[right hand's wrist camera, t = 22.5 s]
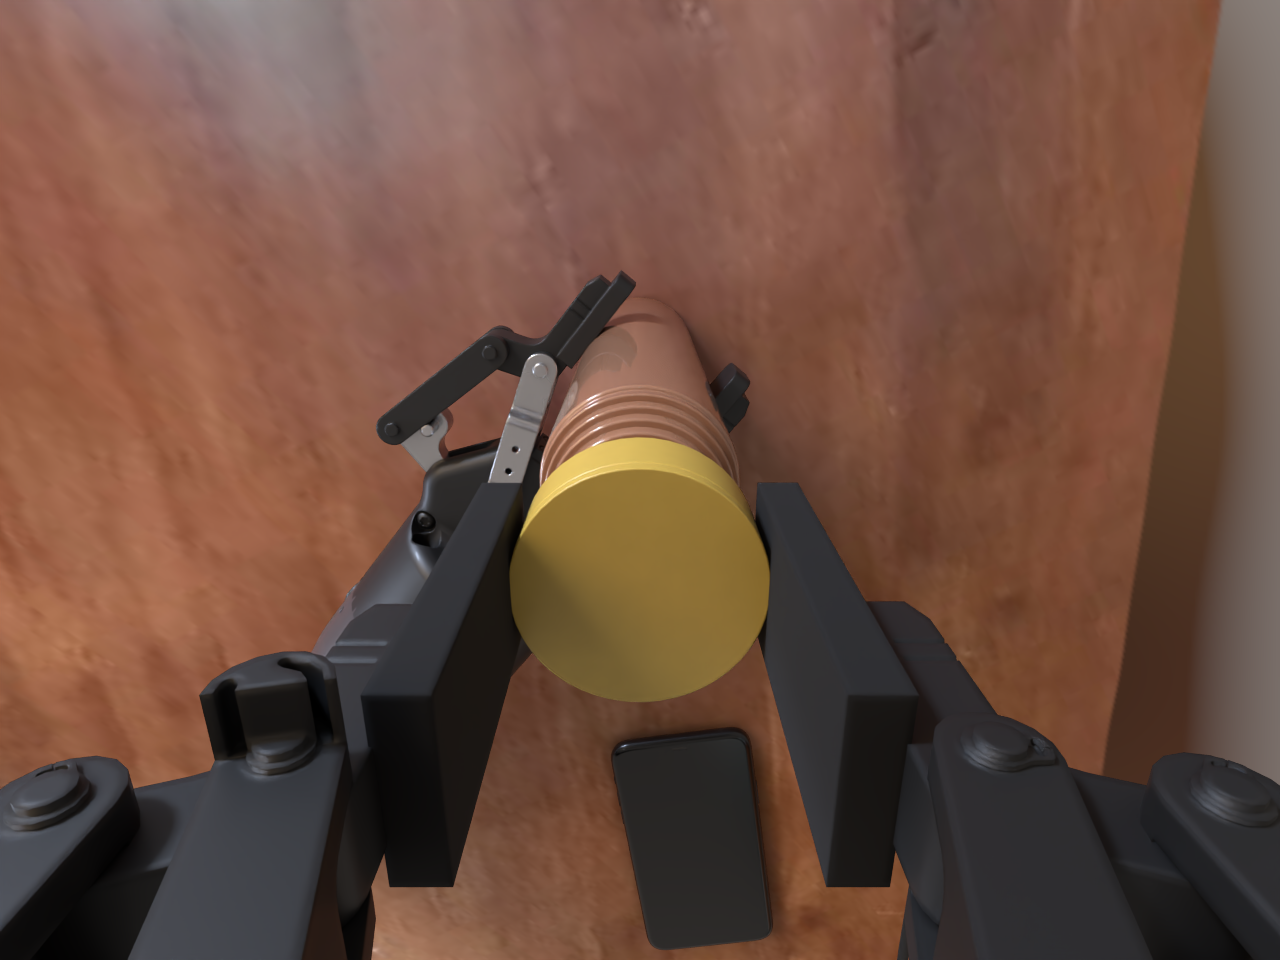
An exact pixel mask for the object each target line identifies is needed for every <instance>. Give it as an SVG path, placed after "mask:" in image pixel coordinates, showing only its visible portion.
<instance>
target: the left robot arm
mask: <svg viewBox="0 0 1280 960" xmlns="http://www.w3.org/2000/svg"><path fill="white" fill-rule="evenodd" d="M635 286H636V282H635V281H634V280H633V279H631V278H630V277H629V276H628V275H627V274H625V273H624V272H623V271H622V270H621V271H620V272H619V274H618V275H617V276H616V277H615V279H614V280H613V281H612V283H611V282H610V281H608V280H607V279H606V278H605V277H604V276H602V275H599V276H597V277H595V278H594V279H592V280H590V281H589V282H588V283H587V284H586V285H585V287H584V288H583V289H582V291H581V292H580V293H579V295H578V296H577V297H576V298H575V300H574V301H573V302H572V304H571V305H570V306H569V308H568V309H567V310H566V312H565V313H564V314H563V316H562V317H561V318H560V320H559V321H558V322H557V323H556V325H555V326H554V327H553V329H552V330H551V331H550V332H549V333H548V334H547V335H546V336H544V337H542V338H538V339H533V338H528V337H525V336H522V335H519V334H516V333H514V332H513V331H512V330H511V329H510V328H508V327H506V326H496V327H494V328H492V329H491V330H490V331H488V332H487V333H486V334H485V335H483V336H482V337H481V338H480V339H478V340H477V341H476V342H475V343H473V344H472V345H471V346H469V347H468V348H467V349H466V350H464V351H463V352H462V353H461V354H459V355H458V356H457V357H456V358H454V359H453V360H452V361H451V362H449V363H448V364H447V365H446V366H444V367H443V368H442V369H441V370H439V371H438V372H437V373H436V374H434V375H433V376H432V377H430V378H429V379H428V380H427V381H425V382H424V383H423V384H422V385H420V386H419V387H418V388H417V389H415V390H414V391H413V392H412V393H410V394H409V395H408V396H407V397H405V398H404V399H403V400H402V401H400V402H399V403H398V404H397V405H395V406H394V407H393V408H392V409H390V410H389V411H388V412H387V413H385V414H384V415H383V416H382V417H381V418H380V419H379V420H378V422H377V425H376V430H377V434H378V436H379V437H380V438H381V439H382V440H383V441H384V442H386V443H388V444H391V445H398V444H401V445H402V446H403V447H404V448H405V449H406V450H407V451H408V452H409V454H410V455H411V456H412V457H413V458H414V459H415V460H416V461H417V462H418V464H419V465H420V466H421V467H422V468H423V469H424V470H425V471H426V475H425V477H424V481H423V493H422V497H421V500H420V502H419V504H418V505H417V506H416V508H415V509H414V510H413V512H412V513H411V514H410V516H409V517H408V518H407V520H406V521H405V522H404V523H403V525H402V526H401V527H400V529H399V530H398V531H397V533H396V534H395V535H394V537H393V538H392V539H391V541H390V542H389V543H388V545H387V546H386V547H385V548H384V550H383V551H382V552H381V554H380V555H379V556H378V558H377V559H376V560H375V562H374V563H373V564H372V566H371V567H370V568H369V569H368V571H367V572H366V573H365V575H364V577H363V578H362V579H361V580H360V581H359V582H358V583H357V584H356V585H355V586H354V587H353V588H352V589H351V590H350V591H349V592H348V594H347V595H346V598H345V601H344V602H343V604H342V605H341V606H340V608H339V609H338V610H337V612H336V613H335V614H334V615H333V617H332V618H331V620H330V621H329V623H328V624H327V626H326V627H325V628H324V630H323V631H322V633H321V635H320V637H319V639H318V640H317V642H316V644H315V646H314V648H313V650H312V652H311V653H314V654H318V655H322V656H324V657H325V656H326V655H327V654H328V652H329V651H330V649H331V648H332V646H335V645H336V641H337V639H338V638H339V636H340V635H341V634H342V632H343V631H344V629H345V628H346V626H347V625H348V624H349V622H350V621H351V620H353V619H354V618H356V617H357V616H359V615H360V614H362V613H363V612H365V611H366V610H367V609H369V608H370V607H372V606H373V605H375V604H413V602H414V601H415V599H416V597H417V595H418V594H419V592H420V590H421V588H422V587H423V585H424V583H425V581H426V580H427V578H428V576H429V574H430V573H431V571H432V569H433V567H434V566H435V564H436V562H437V560H438V559H439V557H440V555H441V554H442V552H443V550H444V548H445V547H446V545H447V543H448V541H449V540H450V538H451V536H452V534H453V533H454V531H455V529H456V527H457V526H458V524H459V522H460V520H461V519H462V517H463V515H464V513H465V512H466V510H467V508H468V506H469V505H470V503H471V501H472V499H473V498H474V496H475V494H476V492H477V491H478V489H479V487H480V485H481V484H482V483H522V492H523V510H524V521H525V518H526V515H527V513H528V510H529V508H530V505H531V503H532V501H533V499H534V497H535V495H536V494H537V492H538V490H539V489H540V477H539V475H540V466H541V460H542V456H543V452H544V449H545V447H546V444H547V442H548V439H549V437H548V436H546V435H545V434H544V433H542V435H541V431H542V428H543V425H544V422H545V419H546V416H547V413H548V409H549V406H550V402H551V399H552V396H553V392H554V389H555V386H556V383H557V380H558V377H559V375H560V374H561V372H562V371H563V370H564V369H565V367H566V366H568V367H570V368H571V369H572V367H573V366H574V365H575V364H576V362H577V361H578V360H579V359H580V357H581V356H582V355H583V353H584V351H585V350H586V349H587V348H588V346H589V345H590V344H591V343H592V342H593V341H594V339H595V338H596V337H597V336H598V334H599V333H600V332H601V330H602V329H603V328H604V327H605V325H606V324H607V323H608V322H609V320H610V319H611V318H612V316H613V315H614V314H615V313H616V311H617V310H618V309H619V307H620V306H621V305H622V304H623V302H624V301H625V300H626V299H627V297H628V296H629V295H630V293H631V292H632V291H633V289H634V288H635ZM497 369H498V370H501V371H504V372H507V373H510V374H513V375H516V376H519V377H521V378H520V382H519V385H518V388H517V392H516V395H515V398H514V401H513V405H512V408H511V410H510V413H509V415H508V418H507V421H506V424H505V427H504V431H503V434H502V437H501V438H498V439H494V440H490V441H486V442H482V443H479V444H475V445H471V446H467V447H463V448H460V449H456V450H452V451H448V450H447V448H446V446H445V442H444V440H445V435H446V433H447V432H448V431H449V430H450V429H451V427H452V425H453V416H452V413H451V412H450V410H449V409H448V407H449V406H450V405H452V404H453V403H454V402H456V401H457V400H458V399H459V398H461V397H462V396H463V395H465V394H466V393H467V392H468V391H470V390H471V389H472V388H473V387H475V386H476V385H477V384H479V383H480V382H481V381H482V380H484V379H485V378H486V377H488V376H489V375H490V374H491V373H493V372H494V371H495V370H497ZM749 384H750V380H749V379H748V377H747V376H746V374H745V373H744V372H742V371H741V370H740V369H739V368H738V367H736V366H735V365H734V364H733V363H730V364H729V365H727V366H726V367H725V368H724V369H723V371H722V372H721V373H720V374H719V375H718V376H717V378H716V379H715V380H714V381H713V382H712V383H711V385H710V387H711V390H712V392H713V395H714V397H715V400H716V402H717V405H718V407H719V410H720V413H721V415H722V418H723V420H724V423H725V425H726V428H727V430H728V433H730V432H731V431H732V429H733V428H734V427H735V426H736V425H737V424H738V423H739V422H740V420H741V419H742V418H743V417H744V416H745V413H746V411H747V408H748V405H749V403H750V402H749V400H748V399H747V397H746V395H745V393H744V392H745V391H746V390H747V388H748V386H749ZM540 435H541V436H540ZM531 653H532V652H531V650H530V649H529V647H528V646H527V644H526V643H525V641H524V640H523V638H521V641H520V645H519V648H518V652H517V656H516V659H515V663H514V667H513V670H512V674H511V676H512V675H513V674H514V673H515V672H516V670H517V669H518V668H519V667H520V666H521V665H522V664H523V662H524V661H525V660H526V659H527V658H528V657H529V656H530V655H531Z"/></svg>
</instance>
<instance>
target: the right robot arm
mask: <svg viewBox="0 0 1280 960" xmlns="http://www.w3.org/2000/svg"><path fill="white" fill-rule="evenodd" d="M523 523H524V510H523V492H522V483H482V484H481V485H480V487H479V489H478V491H477V492H476V494H475V496H474V498H473V499H472V501H471V503H470V505H469V506H468V508H467V510H466V512H465V513H464V515H463V517H462V519H461V520H460V522H459V524H458V526H457V527H456V529H455V531H454V533H453V534H452V536H451V538H450V540H449V541H448V543H447V545H446V547H445V548H444V550H443V552H442V554H441V555H440V557H439V559H438V560H437V562H436V564H435V566H434V567H433V569H432V571H431V573H430V574H429V576H428V578H427V580H426V581H425V583H424V585H423V587H422V588H421V590H420V592H419V594H418V595H417V597H416V599H415V601H414V602H413V604H375V605H373V606H372V607H370V608H369V609H367V610H366V611H365V612H363V613H362V614H360V615H359V616H357V617H356V618H354V619H353V620H351V621H350V622H349V624H348V625H347V626H346V628H345V629H344V631H343V632H342V634H341V635H340V636H339V638H338V639H337V641H336V645H335V646H332V648H331V649H330V651H329V652H328V654H327V655H326V656H325V657H324V656H322V655H318V654H314V653H310V652H306V651H301V652H279V653H274V654H270V655H265V656H260V657H256V658H254V659H251V660H249V661H246V662H244V663H241V664H239V665H236V666H233V667H232V668H230V669H228V670H227V671H225V672H224V673H222V674H221V675H219V676H218V677H216V678H215V679H213V680H212V681H211V682H210V683H209V684H208V685H207V687H206V688H205V689H204V690H203V691H202V692H201V694H200V695H199V696H200V700H201V704H202V709H203V713H204V717H205V721H206V725H207V729H208V733H209V738H210V742H211V746H212V750H213V754H214V758H215V762H214V764H213V766H212V768H211V771H208V772H204V773H201V774H197V775H194V776H190V777H186V778H181V779H176V780H172V781H167V782H162V783H158V784H153V785H149V786H144V787H139V788H135V789H133V785H132V782H131V778H130V775H129V772H128V769H127V768H126V767H125V766H124V765H123V764H121V763H120V762H119V761H118V760H117V759H112V758H106V757H100V756H91V757H82V758H73V759H68V760H65V761H60V762H56V763H55V764H50V765H47V766H44V767H41V768H38V769H36V770H34V771H33V772H31V773H29V774H27V775H25V776H23V777H21V778H18V779H16V780H14V781H12V782H10V783H9V784H7V785H6V786H4V787H3V788H2V789H0V960H371V957H372V948H373V939H374V931H375V922H376V916H375V909H374V901H373V895H372V889H371V886H372V883H373V880H374V878H375V875H376V873H377V870H378V868H379V865H380V863H381V860H382V858H383V855H384V853H385V860H386V866H387V873H388V880H389V886H390V887H453V885H454V882H455V878H456V874H457V871H458V867H459V864H460V860H461V856H462V853H463V849H464V845H465V842H466V838H467V834H468V831H469V827H470V823H471V820H472V816H473V812H474V809H475V805H476V802H477V798H478V794H479V791H480V787H481V783H482V780H483V776H484V772H485V769H486V765H487V761H488V758H489V754H490V751H491V747H492V743H493V740H494V736H495V732H496V729H497V725H498V721H499V718H500V714H501V710H502V707H503V703H504V699H505V696H506V692H507V689H508V685H509V681H510V678H511V674H512V670H513V667H514V663H515V659H516V656H517V652H518V648H519V645H520V641H521V638H522V636H521V634H520V632H519V630H518V628H517V626H516V624H515V621H514V618H513V614H512V606H511V592H510V576H509V567H510V562H511V558H512V555H513V551H514V548H515V545H516V542H517V540H518V537H519V534H520V531H521V529H522V526H523ZM755 523H756V525H757V528H758V531H759V534H760V536H761V539H762V542H763V545H764V547H765V550H766V553H767V556H768V560H769V566H770V584H769V599H768V611H767V616H766V619H765V622H764V624H763V626H762V629H761V631H760V633H759V635H758V639H759V643H760V647H761V650H762V654H763V657H764V661H765V665H766V668H767V672H768V676H769V679H770V683H771V687H772V690H773V694H774V698H775V701H776V705H777V709H778V712H779V716H780V719H781V723H782V727H783V730H784V734H785V738H786V741H787V745H788V749H789V752H790V756H791V760H792V763H793V767H794V771H795V774H796V778H797V781H798V785H799V789H800V792H801V796H802V800H803V803H804V807H805V811H806V814H807V818H808V822H809V825H810V829H811V833H812V836H813V840H814V843H815V847H816V851H817V854H818V858H819V862H820V865H821V869H822V873H823V876H824V880H825V884H826V887H890V883H891V876H892V870H893V863H894V857H895V850H896V853H897V855H898V858H899V860H900V863H901V865H902V868H903V870H904V873H905V875H906V878H907V880H908V883H909V889H908V895H907V901H906V907H905V913H904V919H903V925H902V932H901V938H900V944H899V950H898V957H897V960H908V956H909V960H1280V785H1278V784H1277V783H1275V782H1274V781H1273V780H1271V779H1269V778H1267V777H1265V776H1263V775H1261V774H1259V773H1257V772H1255V771H1253V770H1251V769H1249V768H1247V767H1245V766H1243V765H1241V764H1238V763H1235V762H1232V761H1229V760H1228V761H1227V760H1225V759H1222V758H1218V757H1214V756H1211V755H1202V754H1193V753H1178V754H1172V755H1166V756H1163V757H1162V758H1161V759H1160V760H1158V761H1157V762H1156V763H1155V764H1154V765H1153V766H1152V769H1151V773H1150V776H1149V780H1148V783H1147V785H1142V784H1137V783H1133V782H1128V781H1123V780H1119V779H1114V778H1109V777H1105V776H1100V775H1096V774H1091V773H1087V772H1083V771H1080V770H1076V769H1073V768H1069V767H1068V765H1067V763H1066V760H1065V759H1064V757H1063V756H1062V755H1061V753H1060V752H1059V750H1058V749H1057V748H1056V746H1055V745H1054V744H1053V743H1052V742H1051V741H1050V740H1048V739H1047V738H1046V737H1044V736H1043V735H1042V734H1040V733H1039V732H1038V731H1036V730H1035V729H1033V728H1031V727H1029V726H1027V725H1025V724H1022V723H1020V722H1018V721H1016V720H1014V719H1011V718H1008V717H1004V716H1000V715H997V713H996V712H995V711H994V709H993V708H992V706H991V705H990V704H989V702H988V701H987V699H986V698H985V696H984V695H983V694H982V692H981V691H980V689H979V688H978V686H977V685H976V684H975V682H974V681H973V679H972V678H971V677H970V675H969V674H968V672H967V671H966V669H965V668H964V667H963V665H962V664H961V662H960V661H957V660H956V655H955V654H954V652H953V651H952V650H951V648H950V647H949V645H948V644H947V643H944V638H943V637H942V635H941V634H940V633H939V631H938V630H937V628H936V627H935V625H934V624H933V623H932V621H931V620H930V619H929V618H928V617H926V616H925V615H923V614H922V613H920V612H919V611H917V610H916V609H914V608H913V607H911V606H910V605H909V604H907V603H906V602H865V600H864V598H863V596H862V595H861V593H860V591H859V589H858V588H857V586H856V584H855V582H854V581H853V579H852V577H851V575H850V574H849V572H848V570H847V568H846V567H845V565H844V563H843V561H842V560H841V558H840V556H839V554H838V553H837V551H836V549H835V547H834V546H833V544H832V542H831V540H830V539H829V537H828V535H827V533H826V532H825V530H824V528H823V526H822V525H821V523H820V521H819V519H818V518H817V516H816V514H815V512H814V511H813V509H812V507H811V505H810V504H809V502H808V500H807V498H806V497H805V495H804V493H803V491H802V490H801V488H800V486H799V484H798V483H758V484H757V501H756V519H755Z"/></svg>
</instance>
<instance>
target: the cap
mask: <svg viewBox="0 0 1280 960" xmlns="http://www.w3.org/2000/svg"><path fill="white" fill-rule="evenodd" d="M509 576H510V592H511V606H512V614H513V618H514V621H515V624H516V626H517V628H518V630H519V632H520V634H521V636H522V638H523V640H524V641H525V643H526V644H527V646H528V647H529V649H530V650H531V652H532V653H533V654H534V655H535V656H536V657H537V658H538V660H539V661H540V662H541V663H542V664H543V665H544V666H546V667H547V668H548V669H549V670H550V671H551V672H552V673H554V674H555V675H556V676H558V677H559V678H561V679H562V680H564V681H565V682H567V683H569V684H571V685H573V686H574V687H576V688H578V689H580V690H583V691H585V692H588V693H591V694H593V695H596V696H600V697H604V698H608V699H612V700H619V701H626V702H651V701H661V700H666V699H672V698H676V697H679V696H683V695H686V694H689V693H692V692H694V691H696V690H699V689H701V688H703V687H705V686H707V685H709V684H710V683H712V682H714V681H716V680H717V679H719V678H720V677H722V676H723V675H724V674H725V673H727V672H728V671H729V670H731V669H732V668H733V667H734V666H735V665H736V664H737V663H738V662H739V661H740V660H741V659H742V658H743V657H744V655H745V654H746V653H747V652H748V650H749V649H750V648H751V647H752V645H753V643H754V642H755V640H756V638H757V637H758V635H759V633H760V631H761V629H762V626H763V624H764V622H765V619H766V616H767V611H768V599H769V584H770V566H769V560H768V556H767V553H766V550H765V547H764V545H763V542H762V539H761V536H760V534H759V531H758V528H757V525H756V523H755V520H754V517H753V515H752V512H751V509H750V506H749V504H748V502H747V500H746V498H745V496H744V494H743V493H742V491H741V490H740V488H739V487H738V485H737V484H736V483H735V481H734V480H733V479H732V478H731V477H730V476H729V475H728V474H727V472H726V471H725V470H724V469H722V468H721V467H720V466H719V465H718V464H716V463H715V462H714V461H713V460H711V459H710V458H708V457H706V456H705V455H703V454H701V453H700V452H698V451H696V450H694V449H691V448H689V447H687V446H685V445H682V444H678V443H675V442H672V441H668V440H662V439H656V438H640V437H635V438H624V439H617V440H613V441H608V442H604V443H601V444H598V445H595V446H593V447H590V448H588V449H586V450H584V451H582V452H580V453H578V454H576V455H574V456H573V457H571V458H570V459H569V460H567V461H566V462H564V463H563V464H562V465H560V466H559V467H558V468H557V469H556V470H555V471H554V472H553V473H552V474H551V475H550V476H549V477H548V478H547V480H546V481H545V482H544V483H543V484H542V486H541V487H540V489H539V490H538V492H537V494H536V495H535V497H534V499H533V501H532V503H531V505H530V508H529V510H528V513H527V515H526V518H525V521H524V523H523V526H522V529H521V531H520V534H519V537H518V540H517V542H516V545H515V548H514V551H513V555H512V558H511V562H510V567H509Z"/></svg>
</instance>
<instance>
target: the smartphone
mask: <svg viewBox="0 0 1280 960" xmlns="http://www.w3.org/2000/svg"><path fill="white" fill-rule="evenodd" d="M611 762H612V767H613V772H614V780H615V784H616V787H617V795H618V800H619V805H620V806H621V814H622V819H623V824H624V826H625V831H626V836H627V841H628V846H629V851H630V855H631V860H632V865H633V870H634V875H635V880H636V885H637V890H638V895H639V899H640V904H641V909H642V914H643V919H644V924H645V929H646V934H647V938H648V940H649V942H650V944H651V945H652V946H653V947H655V948H657V949H660V950H673V949H682V948H691V947H701V946H710V945H719V944H728V943H738V942H747V941H755V940H760V939H764V938H766V937H767V936H768V935H769V934H770V933H771V931H772V928H773V919H772V910H771V902H770V894H769V886H768V878H767V869H766V861H765V853H764V845H763V836H762V828H761V820H760V812H759V799H758V791H757V782H756V779H755V771H754V763H753V754H752V746H751V742H750V739H749V736H748V735H747V734H746V732H744V731H743V730H741V729H739V728H735V727H726V728H718V729H709V730H701V731H693V732H685V733H677V734H669V735H661V736H653V737H645V738H637V739H630V740H625V741H622V742H620V743H618V744H617V745H616V746H615V747H614V749H613V751H612V755H611Z"/></svg>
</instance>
